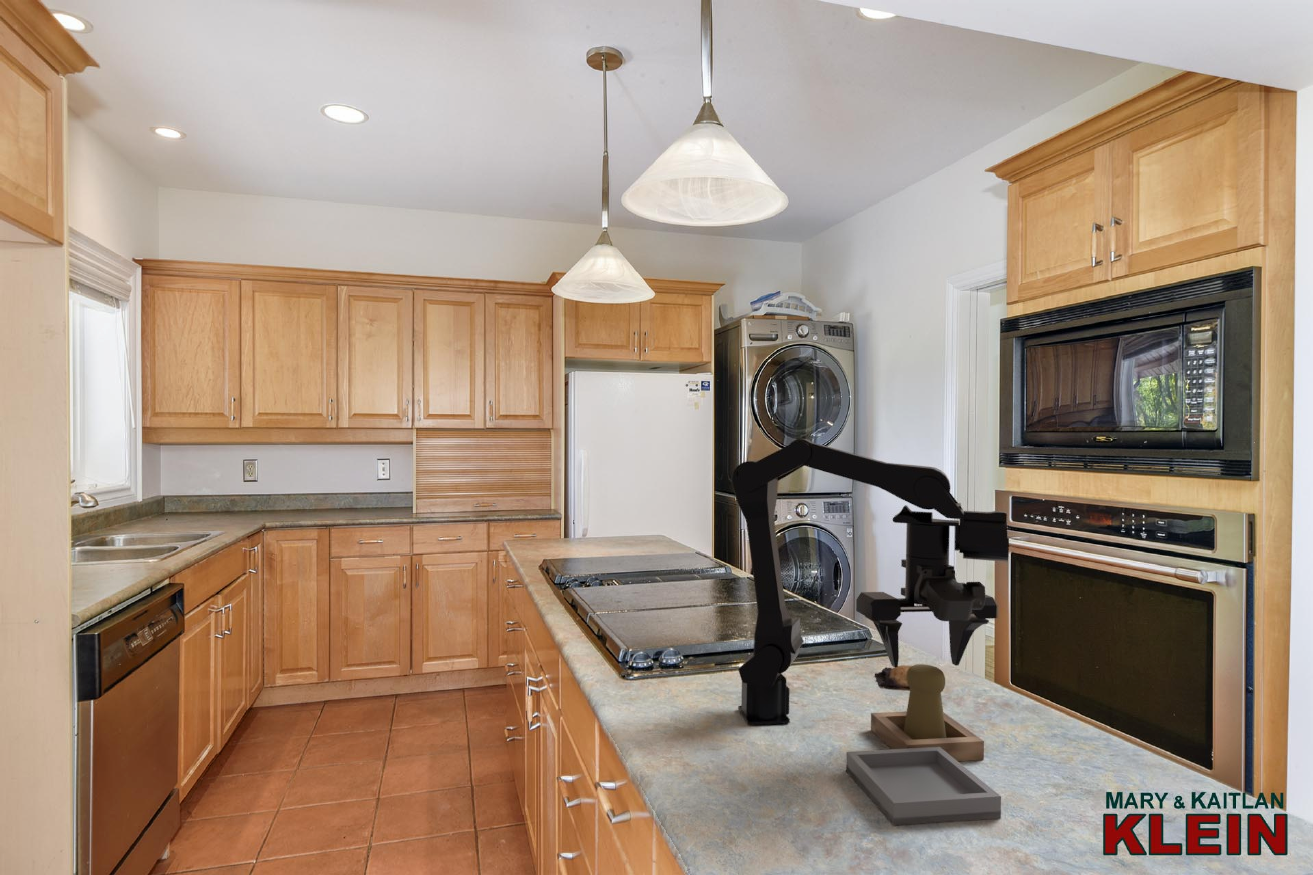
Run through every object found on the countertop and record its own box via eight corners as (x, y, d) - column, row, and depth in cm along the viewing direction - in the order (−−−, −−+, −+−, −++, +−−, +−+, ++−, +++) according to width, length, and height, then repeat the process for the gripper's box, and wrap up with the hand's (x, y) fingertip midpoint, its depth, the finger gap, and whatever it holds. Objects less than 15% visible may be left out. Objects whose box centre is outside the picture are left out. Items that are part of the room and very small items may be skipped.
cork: (951, 755, 97) (953, 675, 97) (905, 751, 98) (906, 671, 98) (943, 737, 103) (944, 661, 103) (899, 733, 104) (900, 658, 104)
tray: (893, 825, 79) (894, 802, 79) (846, 770, 92) (846, 751, 92) (1000, 817, 81) (1001, 796, 81) (939, 765, 94) (939, 746, 94)
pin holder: (907, 763, 95) (907, 744, 95) (870, 729, 105) (871, 712, 105) (983, 759, 96) (984, 741, 96) (939, 726, 107) (940, 709, 107)
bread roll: (931, 679, 130) (931, 659, 130) (945, 696, 121) (945, 674, 121) (871, 676, 131) (871, 656, 131) (881, 692, 123) (881, 671, 123)
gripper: (892, 566, 91) (890, 688, 92) (1024, 565, 94) (1022, 683, 94) (855, 552, 102) (853, 660, 103) (975, 551, 105) (973, 657, 105)
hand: (925, 665), depth 101 cm, fingers open, 9 cm apart
